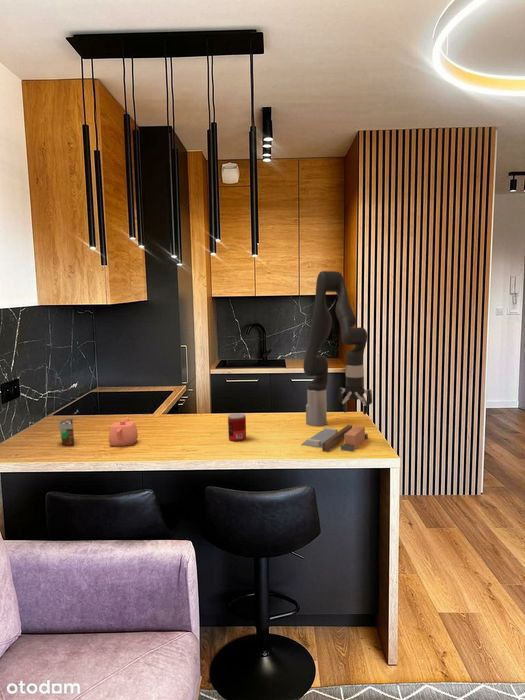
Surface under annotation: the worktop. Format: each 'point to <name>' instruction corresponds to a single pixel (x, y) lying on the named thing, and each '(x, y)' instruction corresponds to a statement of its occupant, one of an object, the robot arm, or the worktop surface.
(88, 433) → the worktop surface
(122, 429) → the teapot
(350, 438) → the bar
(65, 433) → the food container
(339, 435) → the door edge
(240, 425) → the canned food
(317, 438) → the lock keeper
